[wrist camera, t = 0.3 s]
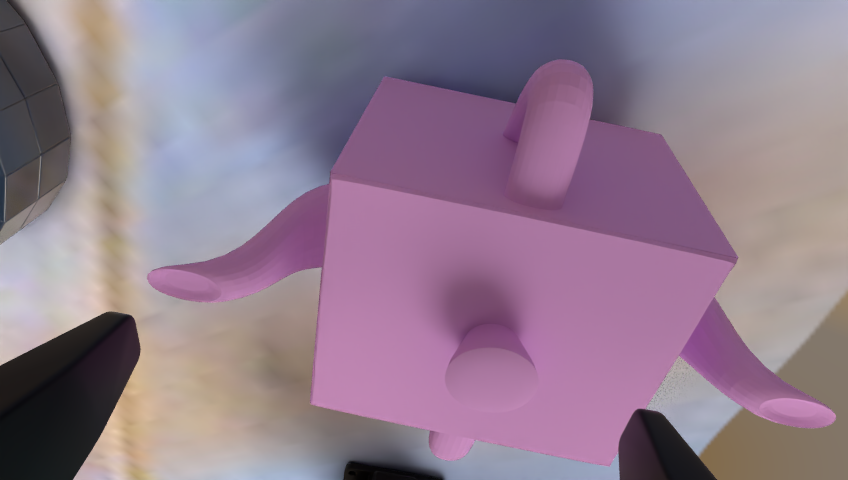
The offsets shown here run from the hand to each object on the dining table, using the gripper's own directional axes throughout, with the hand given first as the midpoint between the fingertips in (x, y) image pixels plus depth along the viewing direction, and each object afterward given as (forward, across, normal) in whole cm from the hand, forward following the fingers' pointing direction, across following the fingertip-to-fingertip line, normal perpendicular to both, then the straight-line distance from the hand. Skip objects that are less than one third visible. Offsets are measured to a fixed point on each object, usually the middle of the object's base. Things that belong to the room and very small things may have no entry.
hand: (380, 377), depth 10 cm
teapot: (+15, -3, +3) cm, 15 cm away
